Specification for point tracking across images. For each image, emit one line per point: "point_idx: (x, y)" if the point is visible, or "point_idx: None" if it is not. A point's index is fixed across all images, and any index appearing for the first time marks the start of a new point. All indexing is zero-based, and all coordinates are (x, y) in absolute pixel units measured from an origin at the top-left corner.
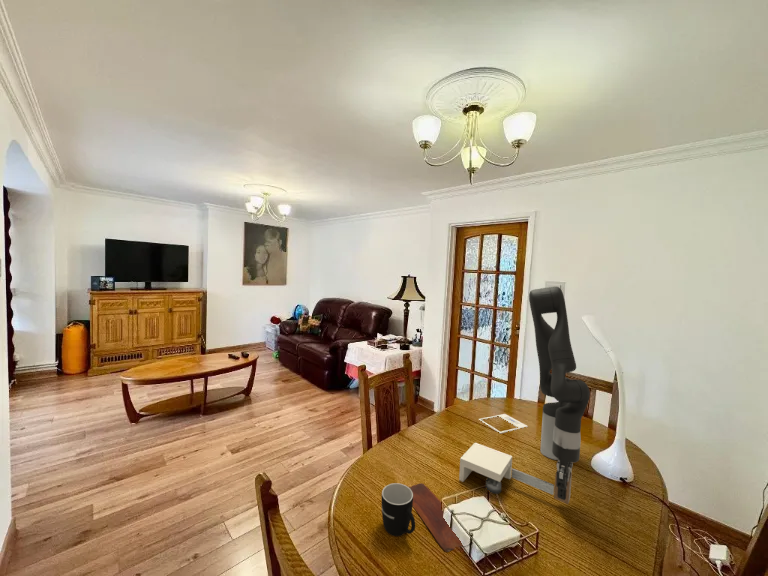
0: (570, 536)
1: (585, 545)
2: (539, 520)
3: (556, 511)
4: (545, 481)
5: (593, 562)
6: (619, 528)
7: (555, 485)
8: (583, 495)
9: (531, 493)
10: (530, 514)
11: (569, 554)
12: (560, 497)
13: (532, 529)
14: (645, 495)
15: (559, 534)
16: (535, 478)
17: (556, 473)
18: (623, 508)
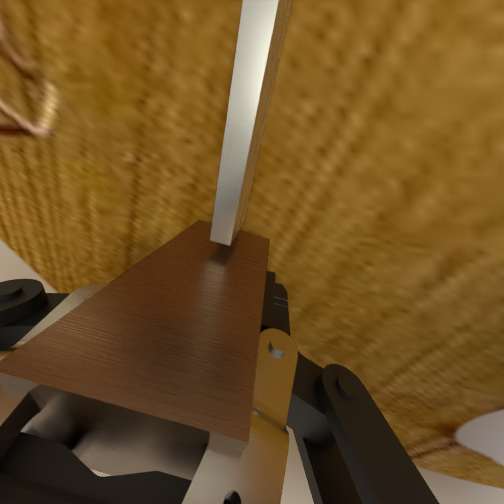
0: (107, 247)
1: (105, 278)
2: (99, 141)
3: (204, 218)
4: (241, 175)
5: (63, 283)
6: None
7: (147, 261)
8: (358, 326)
9: (287, 90)
10: (104, 92)
11: (34, 233)
12: None
13: (22, 106)
14: (405, 446)
15: (87, 215)
16: (240, 42)
17: (15, 385)
18: None
